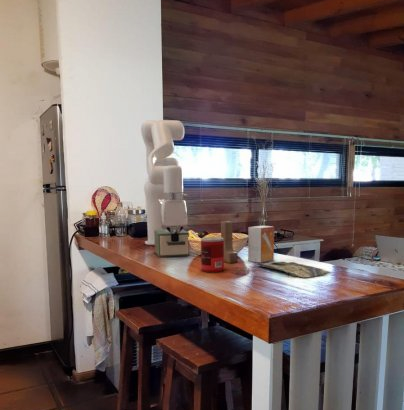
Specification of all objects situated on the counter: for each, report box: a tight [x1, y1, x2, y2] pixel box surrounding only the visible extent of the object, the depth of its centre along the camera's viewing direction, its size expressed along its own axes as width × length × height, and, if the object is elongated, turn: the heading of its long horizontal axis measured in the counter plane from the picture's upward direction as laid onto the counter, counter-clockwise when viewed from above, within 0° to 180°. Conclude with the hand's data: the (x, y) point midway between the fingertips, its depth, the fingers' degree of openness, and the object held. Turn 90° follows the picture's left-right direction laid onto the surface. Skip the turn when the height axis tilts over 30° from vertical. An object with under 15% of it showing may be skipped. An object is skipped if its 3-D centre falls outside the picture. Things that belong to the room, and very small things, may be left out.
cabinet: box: [154, 229, 190, 258], centre depth 179 cm, size 15×13×10 cm
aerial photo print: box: [256, 261, 329, 278], centre depth 142 cm, size 25×19×2 cm
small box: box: [247, 225, 275, 264], centre depth 159 cm, size 8×6×13 cm
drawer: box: [160, 235, 188, 255], centre depth 175 cm, size 19×11×8 cm, turn 13°
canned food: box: [200, 236, 225, 273], centre depth 142 cm, size 8×8×11 cm
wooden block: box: [220, 220, 238, 264], centre depth 158 cm, size 7×3×15 cm, turn 29°
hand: (175, 243), depth 169 cm, fingers closed
